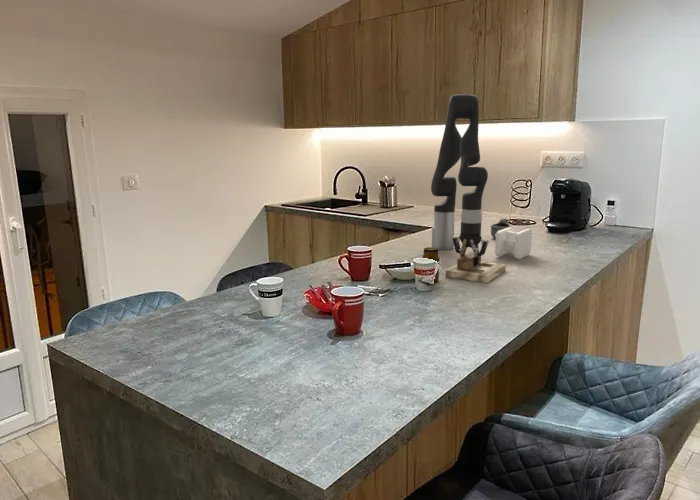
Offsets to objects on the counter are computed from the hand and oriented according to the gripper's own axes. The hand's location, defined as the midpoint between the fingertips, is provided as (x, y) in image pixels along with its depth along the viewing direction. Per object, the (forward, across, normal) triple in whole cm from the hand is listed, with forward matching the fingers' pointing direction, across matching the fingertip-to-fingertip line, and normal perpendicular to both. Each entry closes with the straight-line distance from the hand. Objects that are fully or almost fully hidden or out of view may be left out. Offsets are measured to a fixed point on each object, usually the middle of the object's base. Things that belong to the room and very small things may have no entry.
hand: (469, 264), depth 200 cm
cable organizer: (+3, +6, +35) cm, 36 cm away
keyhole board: (+3, +3, 0) cm, 4 cm away
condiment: (+3, -7, -18) cm, 20 cm away
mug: (+3, -11, +70) cm, 71 cm away
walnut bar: (+2, 0, 0) cm, 2 cm away
